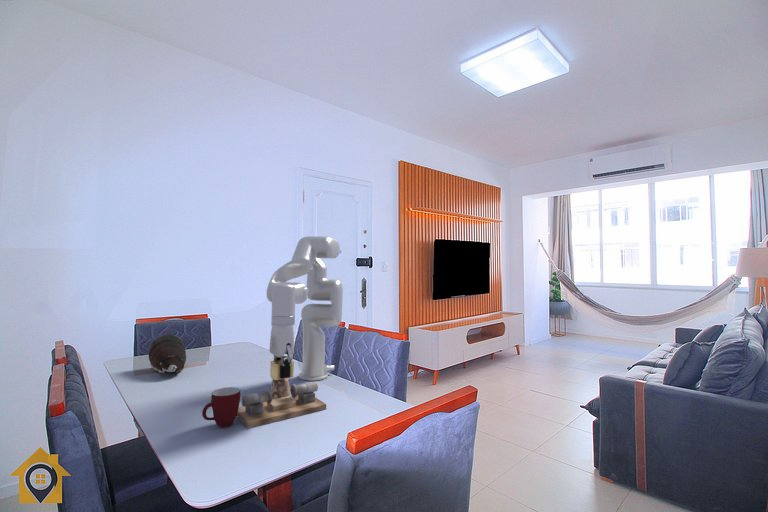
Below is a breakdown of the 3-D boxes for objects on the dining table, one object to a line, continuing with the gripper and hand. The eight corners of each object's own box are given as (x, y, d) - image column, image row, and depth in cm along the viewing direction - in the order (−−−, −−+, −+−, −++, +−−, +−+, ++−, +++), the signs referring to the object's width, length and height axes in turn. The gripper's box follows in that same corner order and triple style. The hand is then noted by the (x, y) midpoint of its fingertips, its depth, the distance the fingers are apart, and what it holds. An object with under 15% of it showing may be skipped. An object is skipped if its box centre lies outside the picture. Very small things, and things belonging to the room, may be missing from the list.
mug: (209, 436, 105) (210, 400, 105) (197, 427, 111) (198, 393, 111) (244, 424, 113) (245, 391, 113) (232, 417, 118) (232, 385, 119)
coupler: (275, 380, 120) (276, 364, 120) (270, 376, 124) (270, 361, 125) (293, 377, 124) (293, 361, 124) (287, 373, 128) (287, 358, 128)
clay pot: (154, 354, 151) (151, 332, 171) (147, 390, 152) (144, 365, 172) (194, 354, 160) (186, 334, 180) (187, 388, 161) (180, 364, 181)
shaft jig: (308, 397, 137) (308, 375, 138) (326, 409, 126) (326, 385, 126) (234, 413, 122) (235, 388, 122) (247, 428, 111) (248, 400, 111)
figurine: (266, 396, 138) (266, 363, 138) (283, 391, 143) (283, 360, 144) (276, 401, 133) (277, 367, 133) (293, 396, 138) (294, 363, 139)
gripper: (263, 318, 129) (261, 371, 129) (282, 325, 116) (280, 384, 115) (284, 317, 134) (282, 368, 133) (304, 323, 120) (303, 380, 120)
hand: (281, 375), depth 124 cm, fingers closed on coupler, 5 cm apart
